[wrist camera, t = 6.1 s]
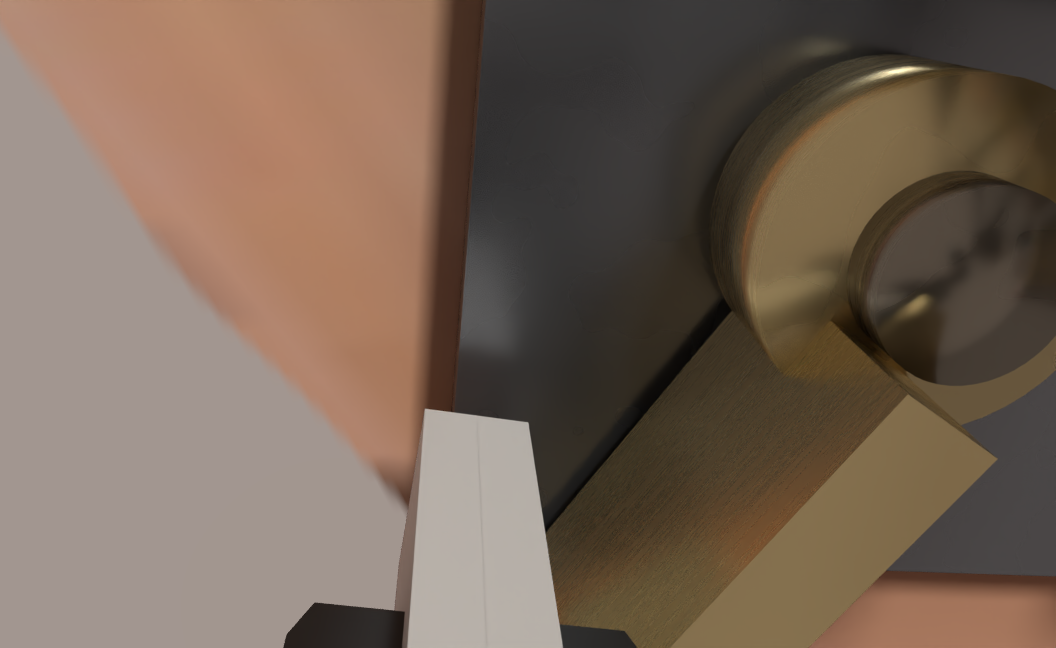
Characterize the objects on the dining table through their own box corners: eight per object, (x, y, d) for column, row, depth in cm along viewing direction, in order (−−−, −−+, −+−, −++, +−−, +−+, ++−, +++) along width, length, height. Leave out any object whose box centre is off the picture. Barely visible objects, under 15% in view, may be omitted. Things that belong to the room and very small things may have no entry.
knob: (862, -19, 11) (1074, -11, 7) (1084, 179, 13) (1360, 274, 9) (414, 552, 14) (397, 772, 10) (632, 665, 15) (691, 899, 12)
